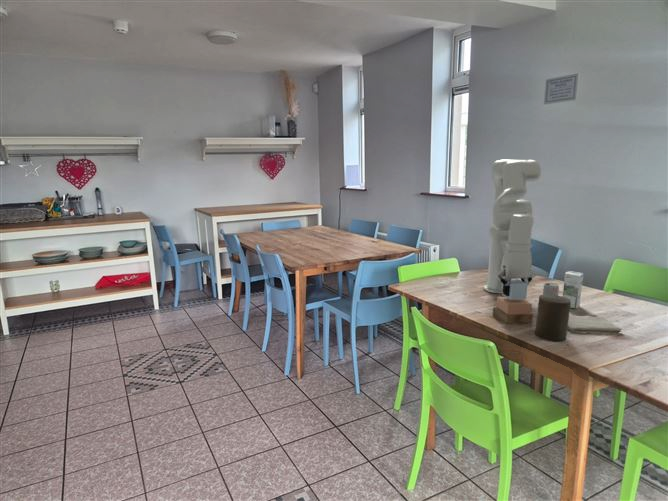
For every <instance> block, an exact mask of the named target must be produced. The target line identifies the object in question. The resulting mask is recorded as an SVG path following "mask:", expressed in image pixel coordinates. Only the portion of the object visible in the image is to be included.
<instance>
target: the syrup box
mask: <svg viewBox="0 0 668 501" xmlns="http://www.w3.org/2000/svg"><path fill="white" fill-rule="evenodd" d="M583 281H584V273H583V272H579V271H578V272H577V271H573V270H567V271H566V272H565V273H564V280H563V287H562V288H563V289H562V295H561V296H562V297H566V298H569V299H570V300H571V304H570V309H572V308H574V309H573V310H577V309H578V308H579V307H580V304H581V295H582V288H583V283H584V282H583ZM576 308H577V309H576Z"/></svg>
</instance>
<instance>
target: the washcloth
mask: <svg viewBox="0 0 668 501" xmlns="http://www.w3.org/2000/svg"><path fill="white" fill-rule="evenodd" d="M567 331H569V332H570V331H571V332H570V333H572V332H573V333H574V334H575V332H576V334H584V333H583V332H586V333H585V334H603V333H604V334H605V333H619V332H621V331H622V327H620V326H617V325H615V324H614V323H613V322H612V321H610V320H608V319H607V318H605V317H604V316H603V317H596V316H591V315H569V320H568V327H567Z"/></svg>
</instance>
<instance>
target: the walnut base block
mask: <svg viewBox="0 0 668 501" xmlns="http://www.w3.org/2000/svg"><path fill="white" fill-rule="evenodd" d="M492 316H493V317H494V318H496V319H497V320H498V321H500V322H501V323H503V324H505V325H507V326H512V325H513V326H514V325H531V324H533V313H531V314H513V315H507V314H506V313H504V312H503V311H501V310H500V309H499V308H497V307H496V306H493V311H492Z"/></svg>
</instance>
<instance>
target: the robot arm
mask: <svg viewBox="0 0 668 501" xmlns="http://www.w3.org/2000/svg"><path fill="white" fill-rule="evenodd" d="M541 175H542V168H541V164H540V163H539V161H536V160H535V159H500V160H499V159H498V160H496V161H494V162H493V164H492V166H491V177H492V181H493V185H494V189H495V191H494V192H495V194H494V203H493V206H492V225H491V226H490V228H489V231H488V233H489V258H488V271H487V284H485V285H484V284H483V290H484V291H486V292H488V293H492V294H501V295H502V293H503V294H504V295H506V296H509V291H510V286H509V283H510V281H511V280H516V279H520V280H521V281H523V282H525V283H527V284H528V285H527V286H529V284H530V282H532V281H533V279H534V278H535V277H536V275H537V274H536V273H535V272H534V270H533V269H532V268H533V266H532V265H533V259H532V252H531V249H533V248H534V246H533V244H531V241H532V232H533V230H532V229H533V226H534V216H533V204H532V203H531V201H530V200H528V199H523V198H524V197H525V196H526V194H527V192H528V190H527V183H529V182H532V183H533V182H534V183H535V182H536V183H537V182H538V181H539V180H540V178H541Z"/></svg>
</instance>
